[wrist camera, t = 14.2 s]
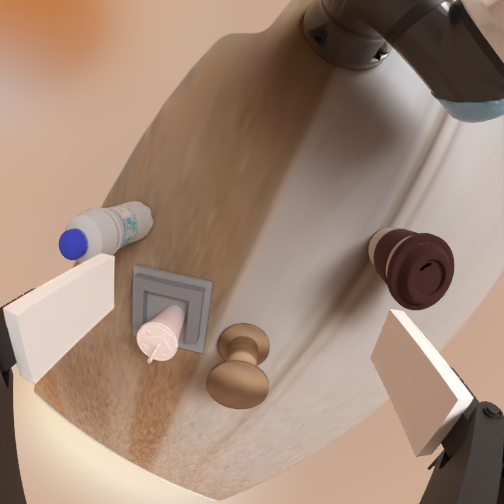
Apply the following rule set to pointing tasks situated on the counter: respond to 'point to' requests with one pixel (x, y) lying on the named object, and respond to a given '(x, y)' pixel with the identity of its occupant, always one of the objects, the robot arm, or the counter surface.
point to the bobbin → (240, 368)
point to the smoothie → (161, 334)
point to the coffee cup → (412, 266)
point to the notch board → (172, 302)
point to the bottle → (105, 230)
